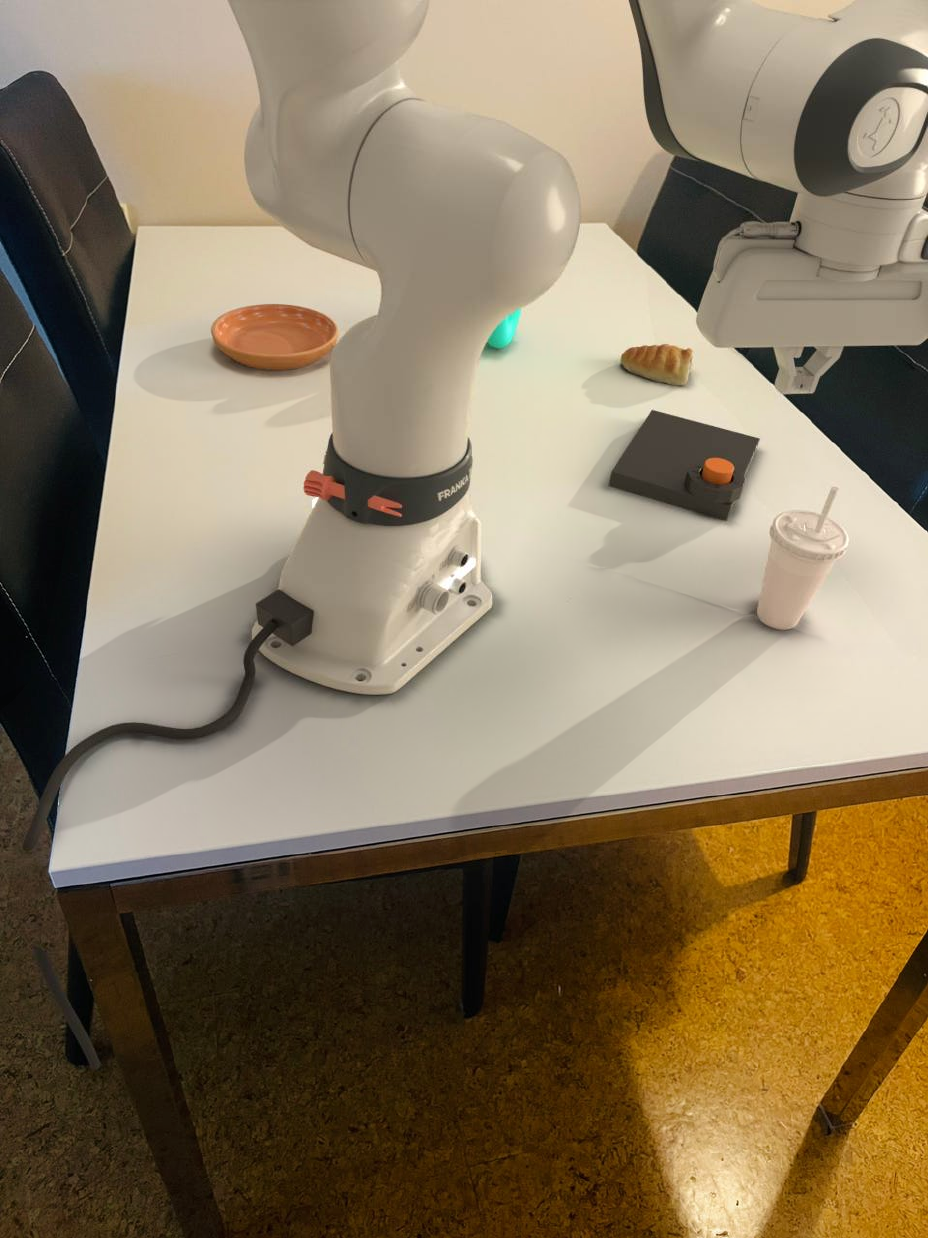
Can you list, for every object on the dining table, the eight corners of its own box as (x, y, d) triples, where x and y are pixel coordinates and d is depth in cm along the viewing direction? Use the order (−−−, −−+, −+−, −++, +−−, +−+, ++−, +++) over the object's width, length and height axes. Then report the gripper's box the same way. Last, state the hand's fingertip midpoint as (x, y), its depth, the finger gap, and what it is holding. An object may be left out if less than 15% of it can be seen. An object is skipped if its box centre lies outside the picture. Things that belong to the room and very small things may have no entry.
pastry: (615, 376, 117) (621, 348, 114) (623, 355, 122) (628, 328, 119) (687, 389, 115) (694, 361, 112) (691, 368, 120) (698, 341, 117)
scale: (729, 524, 92) (738, 496, 90) (607, 488, 96) (612, 460, 94) (759, 453, 104) (768, 426, 101) (648, 423, 107) (654, 397, 105)
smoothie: (815, 645, 79) (873, 515, 70) (742, 632, 80) (790, 502, 70) (809, 600, 84) (862, 473, 74) (740, 588, 84) (785, 461, 75)
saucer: (349, 330, 122) (348, 309, 120) (323, 383, 110) (322, 360, 108) (234, 318, 122) (232, 297, 120) (196, 370, 110) (193, 347, 108)
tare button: (726, 488, 92) (730, 475, 91) (698, 480, 92) (702, 467, 91) (733, 475, 94) (736, 462, 93) (705, 467, 95) (708, 454, 94)
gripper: (744, 235, 63) (696, 411, 72) (990, 238, 67) (916, 405, 76) (708, 207, 68) (667, 376, 77) (940, 212, 72) (876, 372, 81)
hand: (793, 390), depth 77 cm, fingers closed
